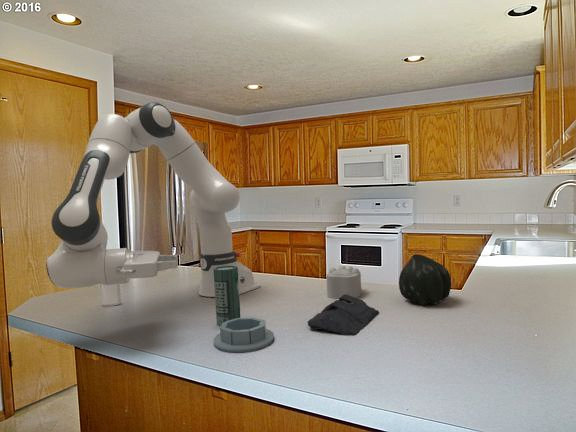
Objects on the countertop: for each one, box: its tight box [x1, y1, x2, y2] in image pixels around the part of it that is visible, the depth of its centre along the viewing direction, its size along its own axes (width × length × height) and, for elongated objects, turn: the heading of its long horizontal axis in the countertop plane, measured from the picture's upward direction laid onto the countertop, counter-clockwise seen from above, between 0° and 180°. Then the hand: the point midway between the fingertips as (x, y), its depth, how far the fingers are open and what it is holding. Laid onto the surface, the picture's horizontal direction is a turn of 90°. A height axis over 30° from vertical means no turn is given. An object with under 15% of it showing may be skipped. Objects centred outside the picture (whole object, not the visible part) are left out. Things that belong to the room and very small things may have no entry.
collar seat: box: [213, 316, 275, 354], centre depth 97 cm, size 14×14×4 cm
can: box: [213, 266, 242, 327], centre depth 110 cm, size 6×6×15 cm
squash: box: [398, 253, 452, 306], centre depth 122 cm, size 14×15×15 cm
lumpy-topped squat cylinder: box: [326, 265, 362, 300], centre depth 135 cm, size 10×13×9 cm
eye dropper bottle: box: [100, 284, 122, 307], centre depth 136 cm, size 4×6×12 cm
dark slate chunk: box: [307, 294, 380, 336], centre depth 109 cm, size 15×22×5 cm
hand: (177, 261), depth 107 cm, fingers open, 8 cm apart
